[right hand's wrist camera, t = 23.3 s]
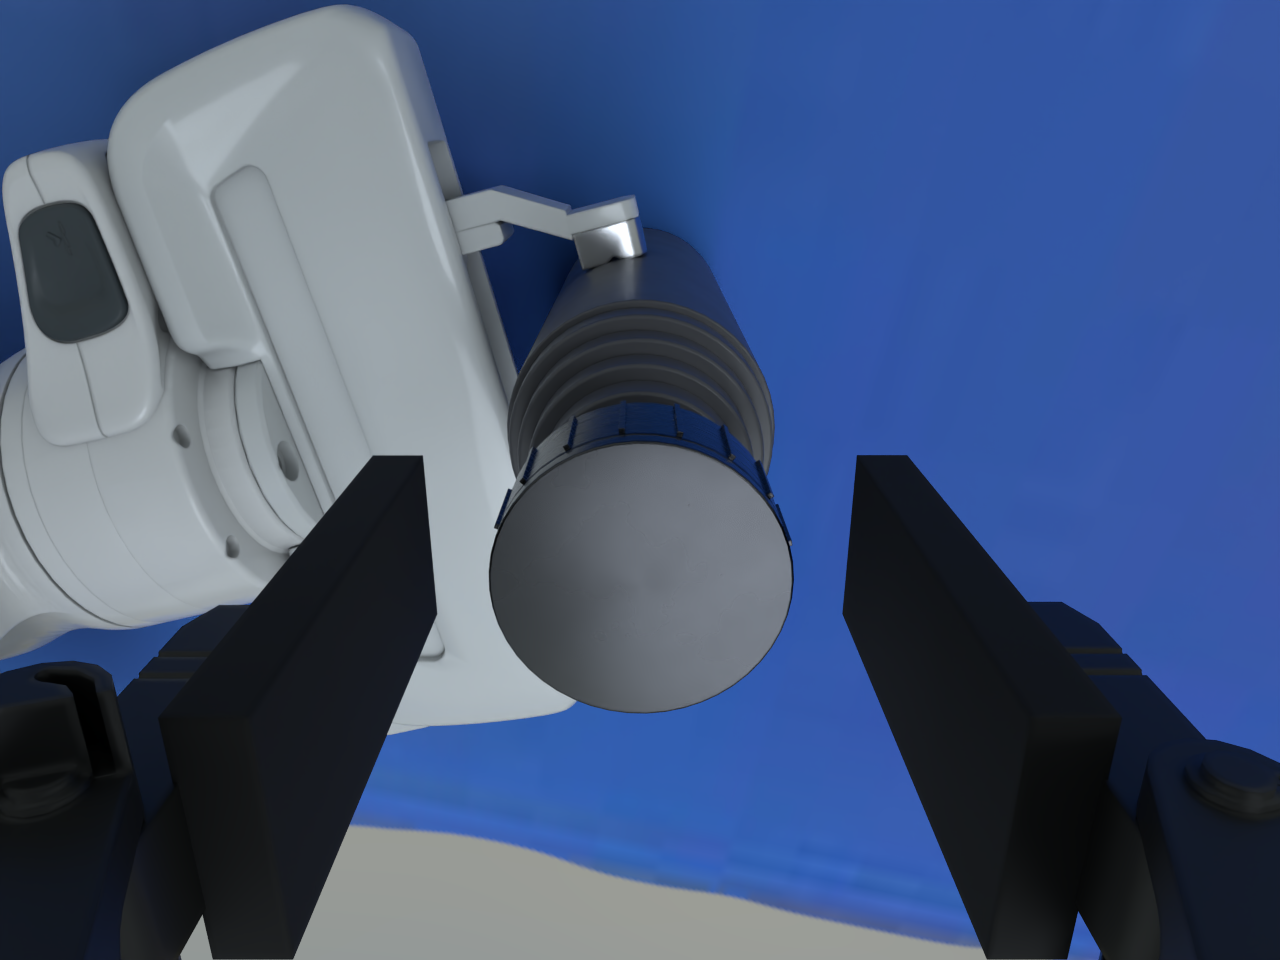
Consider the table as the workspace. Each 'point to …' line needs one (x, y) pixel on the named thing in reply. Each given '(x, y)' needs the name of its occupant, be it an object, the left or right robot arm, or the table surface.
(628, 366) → the bottle
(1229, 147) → the table surface
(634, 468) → the cap
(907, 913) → the table surface
